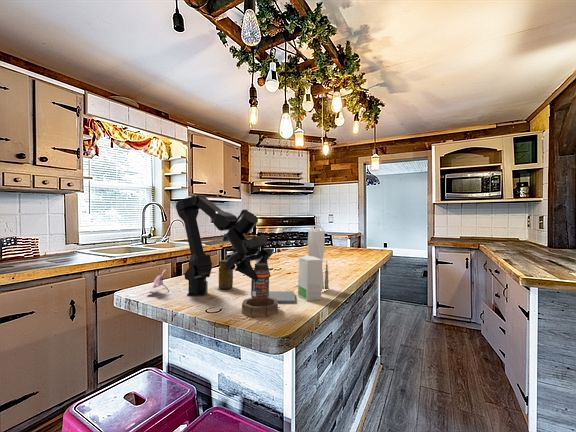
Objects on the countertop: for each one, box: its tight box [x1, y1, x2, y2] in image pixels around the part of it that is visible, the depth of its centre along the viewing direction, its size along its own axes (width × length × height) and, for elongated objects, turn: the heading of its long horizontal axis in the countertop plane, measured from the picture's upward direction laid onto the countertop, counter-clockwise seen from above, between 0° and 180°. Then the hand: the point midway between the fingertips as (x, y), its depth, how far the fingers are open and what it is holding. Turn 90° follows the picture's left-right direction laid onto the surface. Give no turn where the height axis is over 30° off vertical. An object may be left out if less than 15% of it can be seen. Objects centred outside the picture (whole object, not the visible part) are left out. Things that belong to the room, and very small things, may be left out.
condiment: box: [214, 259, 239, 292], centre depth 122 cm, size 7×8×12 cm
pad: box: [269, 290, 296, 304], centre depth 108 cm, size 12×12×1 cm
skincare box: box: [297, 255, 324, 302], centre depth 109 cm, size 8×7×16 cm
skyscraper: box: [307, 225, 330, 291], centre depth 120 cm, size 8×8×28 cm
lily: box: [146, 268, 170, 296], centre depth 115 cm, size 12×12×10 cm
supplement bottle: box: [250, 262, 270, 300], centre depth 94 cm, size 6×6×11 cm
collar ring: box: [241, 297, 279, 318], centre depth 94 cm, size 12×12×3 cm
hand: (263, 278), depth 93 cm, fingers closed on supplement bottle, 6 cm apart
